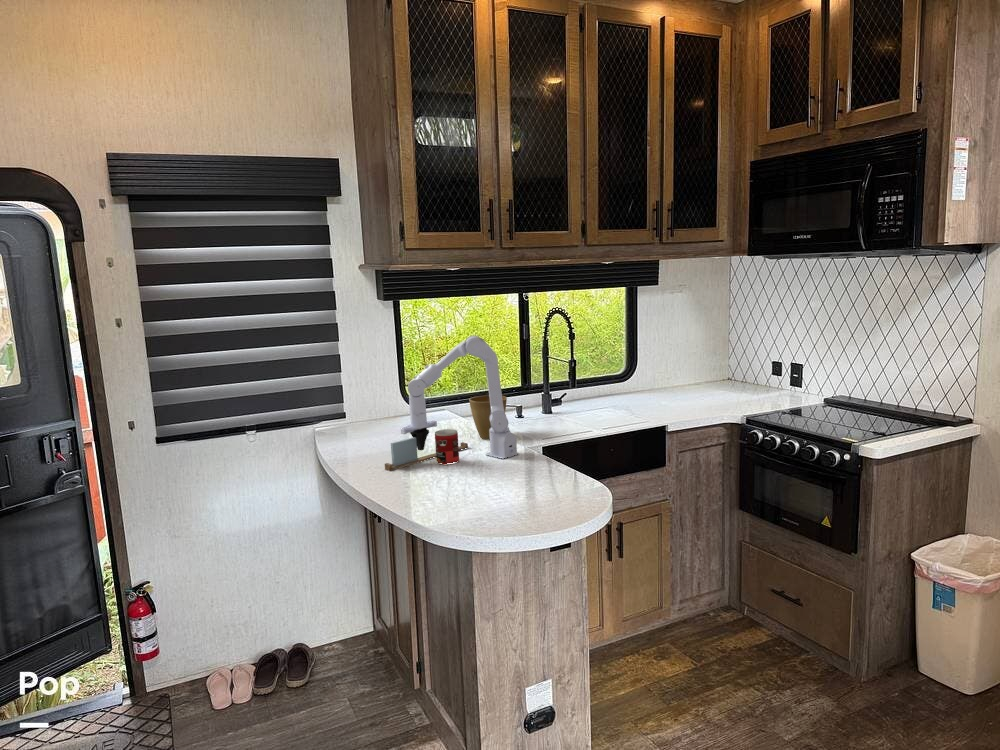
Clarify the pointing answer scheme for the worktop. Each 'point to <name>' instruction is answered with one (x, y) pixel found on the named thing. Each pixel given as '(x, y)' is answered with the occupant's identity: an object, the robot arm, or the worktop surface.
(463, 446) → the rail
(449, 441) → the canned food
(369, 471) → the worktop surface
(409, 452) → the screen panel
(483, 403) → the plant pot
